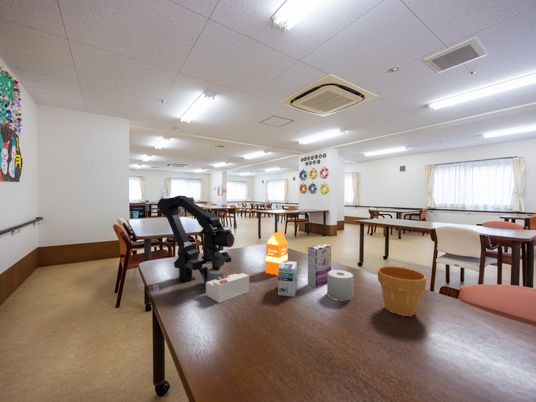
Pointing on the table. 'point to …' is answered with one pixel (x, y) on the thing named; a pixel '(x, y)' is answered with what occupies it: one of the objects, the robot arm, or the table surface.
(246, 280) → the socket
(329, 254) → the candy bar box
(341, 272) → the toilet tissue
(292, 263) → the light bulb box
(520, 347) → the table surface
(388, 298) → the flower pot
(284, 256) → the orange juice
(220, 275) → the plug
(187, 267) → the robot arm
